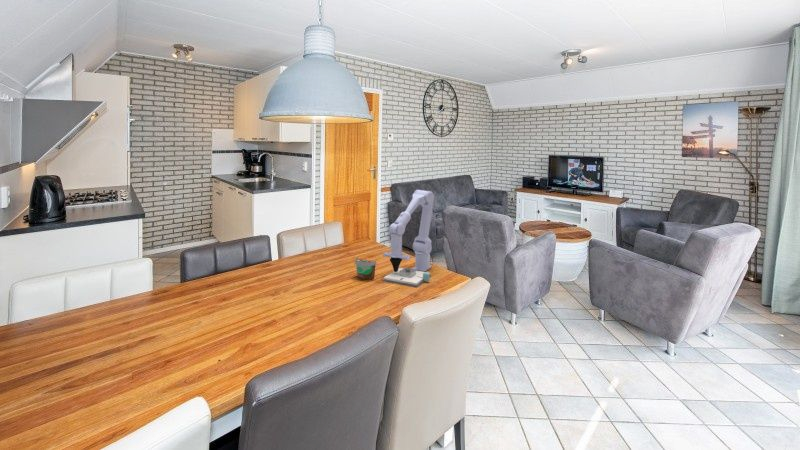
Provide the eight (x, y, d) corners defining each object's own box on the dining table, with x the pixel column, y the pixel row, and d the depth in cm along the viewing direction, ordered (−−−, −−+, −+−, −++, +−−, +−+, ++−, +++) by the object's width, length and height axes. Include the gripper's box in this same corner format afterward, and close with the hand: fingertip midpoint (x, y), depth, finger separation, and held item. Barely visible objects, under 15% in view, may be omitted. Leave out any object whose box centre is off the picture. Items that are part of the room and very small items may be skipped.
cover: (404, 272, 216) (404, 266, 215) (415, 274, 213) (416, 267, 213) (399, 275, 210) (399, 269, 210) (410, 277, 208) (411, 271, 207)
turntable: (399, 269, 224) (399, 263, 223) (435, 275, 215) (435, 269, 214) (384, 279, 208) (384, 272, 207) (422, 286, 199) (422, 279, 198)
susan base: (398, 270, 225) (398, 269, 225) (431, 276, 217) (431, 274, 217) (382, 281, 208) (382, 279, 208) (416, 287, 200) (416, 286, 200)
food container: (350, 278, 211) (349, 259, 209) (356, 275, 216) (356, 257, 214) (370, 282, 206) (370, 263, 203) (376, 279, 211) (376, 260, 209)
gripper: (380, 246, 211) (380, 271, 214) (405, 249, 205) (405, 275, 208) (386, 243, 217) (386, 267, 220) (411, 246, 211) (410, 271, 214)
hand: (395, 271), depth 214 cm, fingers closed
